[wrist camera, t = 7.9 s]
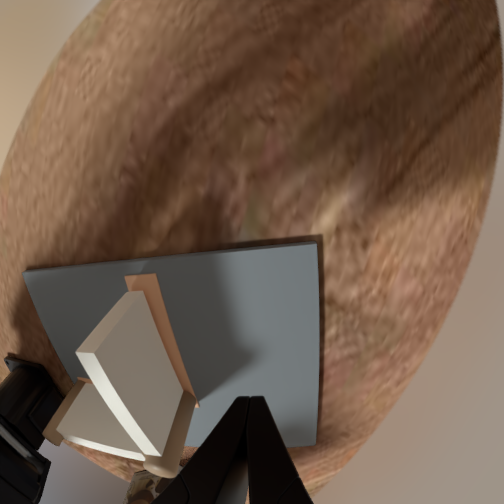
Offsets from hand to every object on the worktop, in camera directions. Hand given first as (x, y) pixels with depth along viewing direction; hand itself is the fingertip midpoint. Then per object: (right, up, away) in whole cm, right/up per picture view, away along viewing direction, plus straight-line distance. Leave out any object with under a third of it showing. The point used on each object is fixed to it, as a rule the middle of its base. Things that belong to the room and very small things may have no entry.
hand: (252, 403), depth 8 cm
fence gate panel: (-5, 0, +7) cm, 8 cm away
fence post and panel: (-8, -5, +9) cm, 13 cm away
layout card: (-5, -3, +8) cm, 10 cm away
